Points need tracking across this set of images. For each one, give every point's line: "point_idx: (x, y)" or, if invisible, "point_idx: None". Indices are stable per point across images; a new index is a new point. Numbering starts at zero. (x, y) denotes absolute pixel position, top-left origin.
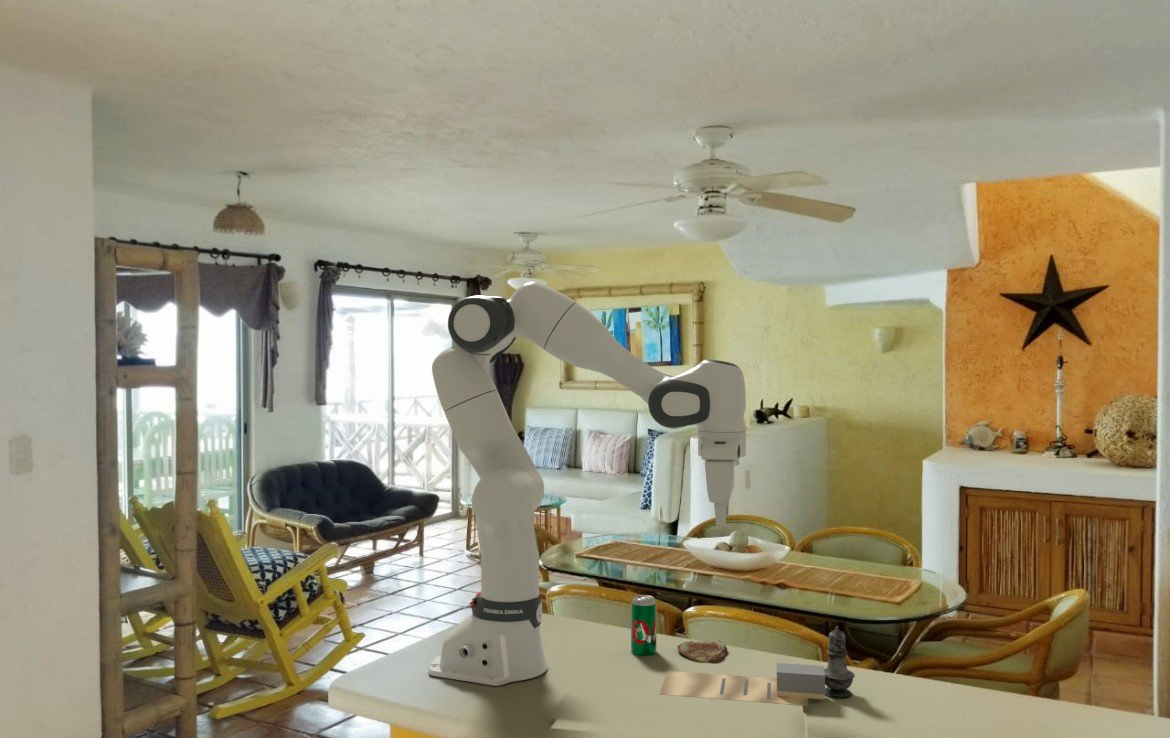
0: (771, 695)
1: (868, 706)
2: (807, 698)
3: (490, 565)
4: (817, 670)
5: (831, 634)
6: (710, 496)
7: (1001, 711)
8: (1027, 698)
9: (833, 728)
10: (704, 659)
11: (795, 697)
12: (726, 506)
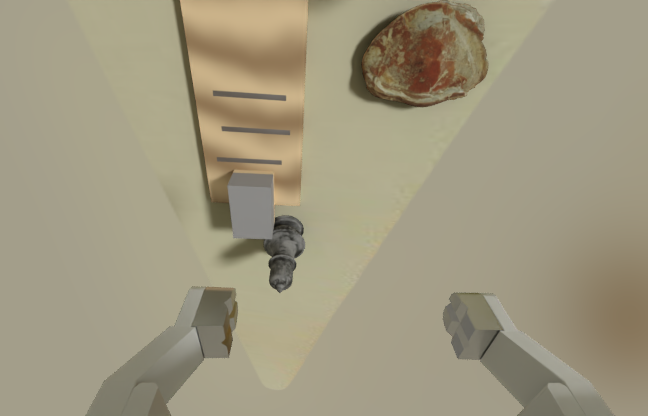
0: (232, 163)
1: (254, 251)
2: None
3: None
4: (251, 232)
5: (274, 277)
6: None
7: (271, 331)
8: (306, 348)
9: (177, 216)
10: (370, 63)
11: None
12: (487, 359)
